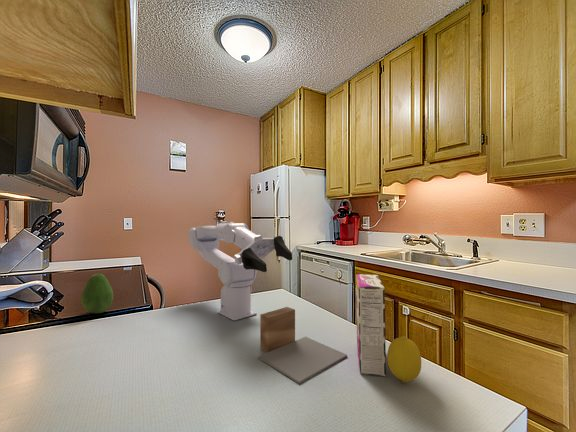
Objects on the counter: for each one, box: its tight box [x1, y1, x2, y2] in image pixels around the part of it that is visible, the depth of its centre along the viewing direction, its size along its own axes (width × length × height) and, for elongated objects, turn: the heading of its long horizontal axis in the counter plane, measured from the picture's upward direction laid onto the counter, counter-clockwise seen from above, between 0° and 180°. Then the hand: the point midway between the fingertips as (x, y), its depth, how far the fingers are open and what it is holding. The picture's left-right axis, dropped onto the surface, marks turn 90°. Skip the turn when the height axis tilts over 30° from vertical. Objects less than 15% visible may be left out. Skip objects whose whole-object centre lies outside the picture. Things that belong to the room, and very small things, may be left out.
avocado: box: [80, 273, 114, 314], centre depth 84 cm, size 8×8×12 cm
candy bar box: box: [355, 273, 387, 377], centre depth 56 cm, size 11×5×16 cm, turn 168°
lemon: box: [386, 335, 422, 383], centre depth 48 cm, size 6×6×8 cm
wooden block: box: [259, 306, 296, 353], centre depth 63 cm, size 3×8×8 cm, turn 132°
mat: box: [257, 336, 348, 385], centre depth 57 cm, size 12×14×1 cm
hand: (278, 262), depth 67 cm, fingers open, 7 cm apart
